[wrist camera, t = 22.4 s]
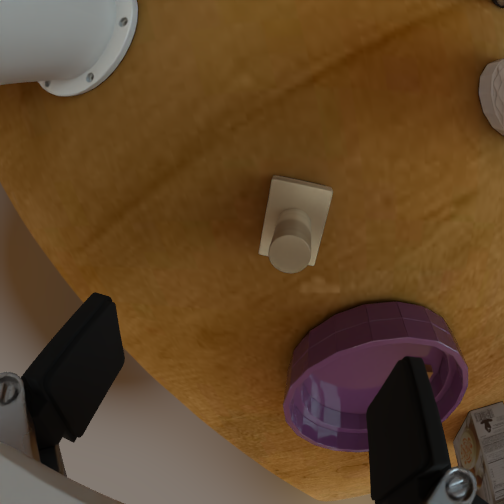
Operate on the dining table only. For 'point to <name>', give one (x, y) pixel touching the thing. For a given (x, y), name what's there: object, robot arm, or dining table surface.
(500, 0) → the hardcover book
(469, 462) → the coffee box
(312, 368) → the bowl
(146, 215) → the dining table surface
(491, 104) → the white cup
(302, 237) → the beige stamp
